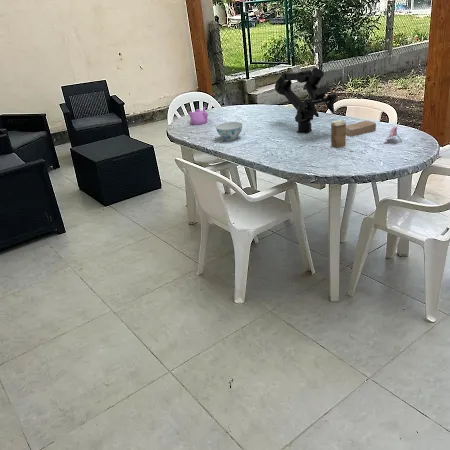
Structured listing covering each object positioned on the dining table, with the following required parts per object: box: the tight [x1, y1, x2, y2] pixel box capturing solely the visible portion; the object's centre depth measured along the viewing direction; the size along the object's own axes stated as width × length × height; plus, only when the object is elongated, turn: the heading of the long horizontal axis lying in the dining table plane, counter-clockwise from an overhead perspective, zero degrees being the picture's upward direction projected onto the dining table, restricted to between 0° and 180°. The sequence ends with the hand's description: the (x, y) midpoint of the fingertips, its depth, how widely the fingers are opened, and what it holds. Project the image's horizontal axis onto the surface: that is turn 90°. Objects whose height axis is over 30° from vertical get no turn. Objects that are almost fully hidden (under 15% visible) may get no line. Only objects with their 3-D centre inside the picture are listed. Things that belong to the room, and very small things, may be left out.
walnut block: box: [330, 119, 347, 149], centre depth 220 cm, size 5×5×12 cm
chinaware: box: [215, 121, 243, 142], centre depth 252 cm, size 15×15×8 cm
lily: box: [383, 122, 402, 144], centre depth 218 cm, size 12×12×10 cm
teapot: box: [188, 106, 209, 126], centre depth 292 cm, size 12×14×9 cm
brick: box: [346, 120, 377, 137], centre depth 238 cm, size 17×8×5 cm, turn 112°
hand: (326, 115), depth 228 cm, fingers open, 9 cm apart
